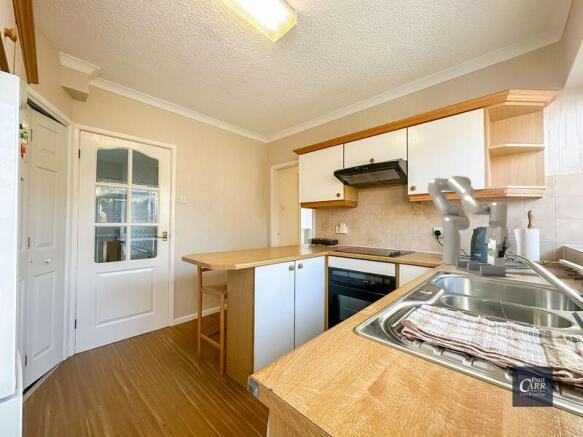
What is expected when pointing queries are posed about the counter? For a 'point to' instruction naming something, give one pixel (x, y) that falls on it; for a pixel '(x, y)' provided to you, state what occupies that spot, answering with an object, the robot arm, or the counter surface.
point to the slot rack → (480, 268)
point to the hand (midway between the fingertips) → (496, 256)
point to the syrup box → (494, 254)
